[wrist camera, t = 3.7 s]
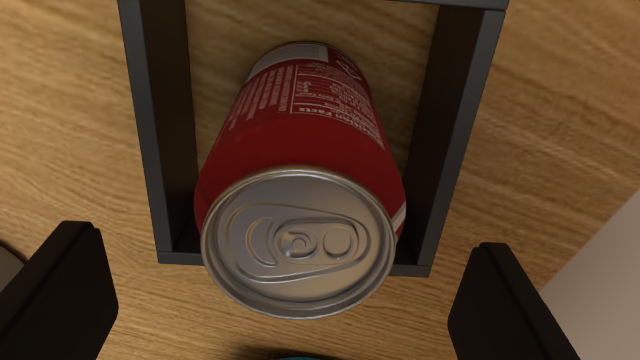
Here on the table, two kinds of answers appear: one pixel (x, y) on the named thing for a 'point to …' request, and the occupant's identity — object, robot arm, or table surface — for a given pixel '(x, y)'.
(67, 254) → the robot arm
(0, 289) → the water bottle
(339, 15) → the table surface
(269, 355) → the alarm clock
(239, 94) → the soda can
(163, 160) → the bin
